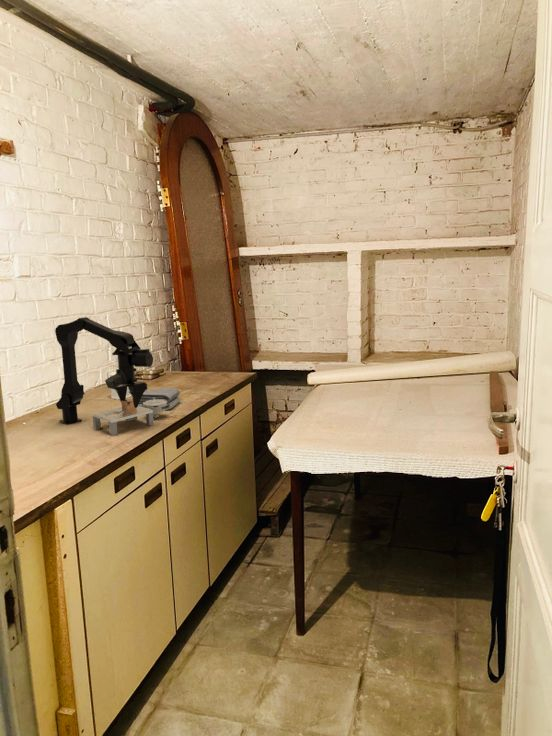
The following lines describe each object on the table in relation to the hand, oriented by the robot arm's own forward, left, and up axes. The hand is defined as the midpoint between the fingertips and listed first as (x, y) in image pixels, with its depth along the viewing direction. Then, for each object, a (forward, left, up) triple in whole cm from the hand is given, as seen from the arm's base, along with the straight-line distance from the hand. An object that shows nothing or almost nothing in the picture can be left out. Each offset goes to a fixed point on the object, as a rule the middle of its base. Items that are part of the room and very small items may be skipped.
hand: (129, 405), depth 221 cm
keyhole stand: (0, -3, -8) cm, 8 cm away
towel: (-17, +23, -8) cm, 29 cm away
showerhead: (-2, +13, -8) cm, 15 cm away
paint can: (-45, +22, -8) cm, 51 cm away
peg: (0, 0, -5) cm, 5 cm away
